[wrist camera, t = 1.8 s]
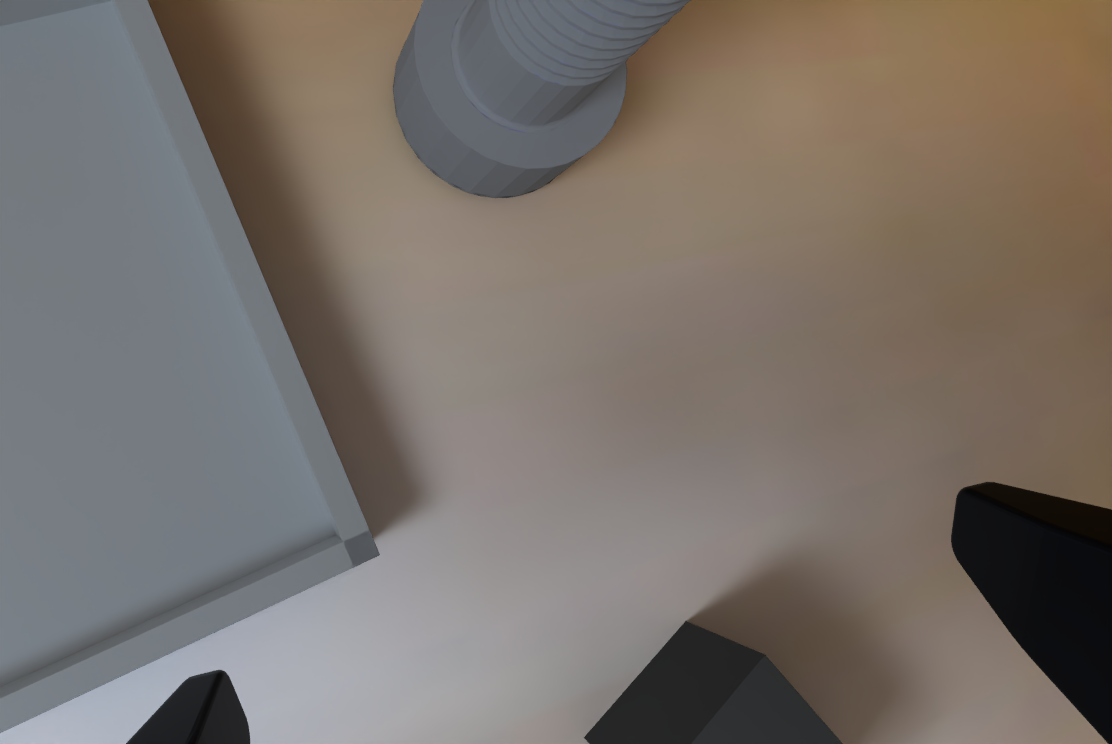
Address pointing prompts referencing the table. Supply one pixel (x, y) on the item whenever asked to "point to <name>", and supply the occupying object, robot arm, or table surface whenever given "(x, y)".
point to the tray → (137, 373)
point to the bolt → (516, 85)
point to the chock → (710, 699)
